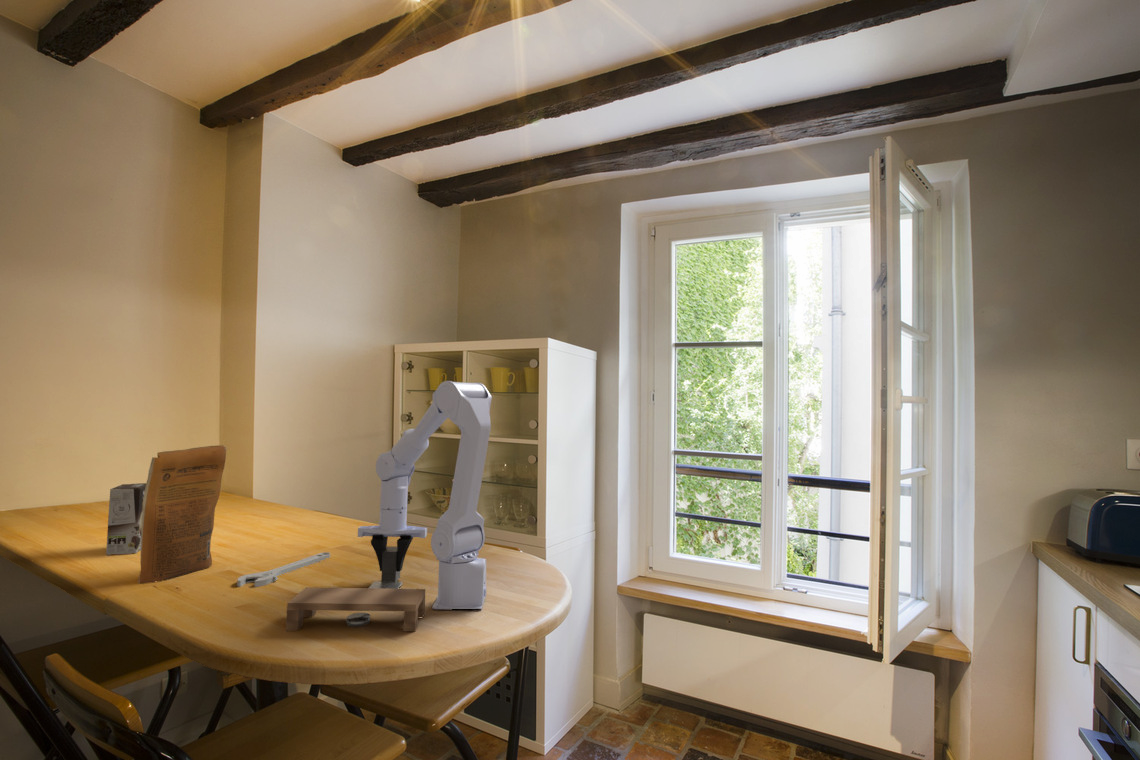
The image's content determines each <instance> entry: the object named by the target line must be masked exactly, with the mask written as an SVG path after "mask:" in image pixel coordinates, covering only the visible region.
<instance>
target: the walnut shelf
mask: <svg viewBox="0 0 1140 760" xmlns="http://www.w3.org/2000/svg"><path fill="white" fill-rule="evenodd" d="M425 609H426V588H400V589H383V588H369V587H368V588H367V587H364V588H363V587H362V588H361V587H309V586H308V587H305V588H304V589H303V590H301V591H300V592H299V593H297V594H296V595H295V596H293V598H291V599H290V600H289V601H288V602H287V603H286V616H285V617H286V618H285V619H286V620H285V631H287V632H288V631H290V632H291V631H292V632H294V631H297V632H298V631H299V630H300V629H301V628H303V623H304V618H313V617H314V616H315V615H316V614H317V611H341V612H342V611H343V612H344V611H346V612H347V611H349V612H350V611H353V612H403V629H402V630H403V632H404V631H415V630H417V629H418V627H417V626H419V625H418V624H419V623H418V622H419V618H418V617H424V616H425V614H424V613H425ZM423 615H424V616H423ZM416 628H417V629H416ZM415 632H416V631H415ZM404 633H405V632H404Z"/></svg>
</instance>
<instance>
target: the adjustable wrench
mask: <svg viewBox="0 0 1140 760" xmlns="http://www.w3.org/2000/svg"><path fill="white" fill-rule="evenodd" d="M329 557H330V558H331V552H328V551H326V552H319V553H316V554H314V555H311V556H308V557H306V558H301V559H300V560H297V561H294V562H291V563H288V564H285V565H281V566H279V567H276V568H272V569H270V570H264V571H260V572H254V573H248V574H244V575H240V576H239V577H238V578H237V584H236V586H237V587H238V588H241V587H242V586H244V585H246V584H249V583H251V584H252V583H254V586H253V587H254V588H260V587H264V586H267V585H270V584H272V583H271V582H273V583H275V582H274V581H276V580H278V577H277V576H279V575H281V574H284V573H287V572H289V573H291V572H290V571H292V570H295V571H297V570H296V569H298V568H301V567H303V568H305V567H304V566H306V567H309V566H312V565H314V564H313V563H315V564H317V563H320V562H322V561H321V560H323V561H325V560H324V559H326V558H328V559H330V558H329ZM326 560H327V559H326ZM319 561H320V562H319ZM316 562H317V563H316ZM311 564H312V565H311ZM308 565H309V566H308ZM301 569H302V568H301ZM298 570H299V569H298ZM292 572H293V571H292ZM287 574H288V573H287ZM284 575H285V574H284ZM281 576H282V575H281ZM279 577H280V576H279ZM276 582H277V581H276ZM269 583H270V584H269Z"/></svg>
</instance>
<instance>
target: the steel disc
mask: <svg viewBox="0 0 1140 760" xmlns="http://www.w3.org/2000/svg"><path fill="white" fill-rule="evenodd" d="M345 621H346V623H345V624H346V626H348V627H352V628H355V627H356V628H357V627H364V626H366V624H367V625H368V624H369V623H370V622H371V614H370V613H367V612H354V613H351V614H349V615H348V616H346V619H345Z"/></svg>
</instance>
